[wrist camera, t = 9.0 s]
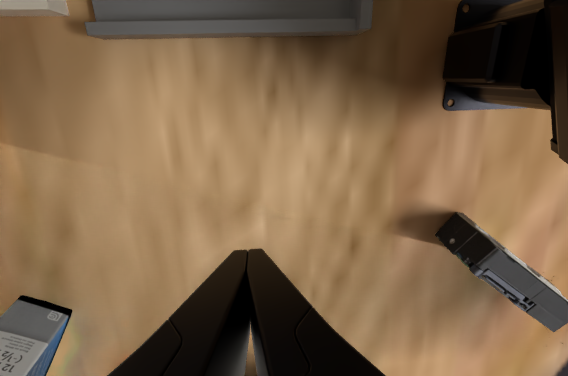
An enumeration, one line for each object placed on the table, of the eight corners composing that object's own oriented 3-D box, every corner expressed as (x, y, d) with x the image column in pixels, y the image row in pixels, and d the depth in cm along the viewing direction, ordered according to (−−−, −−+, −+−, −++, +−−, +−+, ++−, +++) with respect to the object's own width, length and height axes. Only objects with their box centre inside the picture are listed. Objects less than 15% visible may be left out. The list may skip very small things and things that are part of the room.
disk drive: (465, 213, 35) (589, 313, 21) (447, 230, 36) (554, 337, 22) (403, 164, 32) (499, 243, 19) (385, 183, 33) (464, 273, 19)
